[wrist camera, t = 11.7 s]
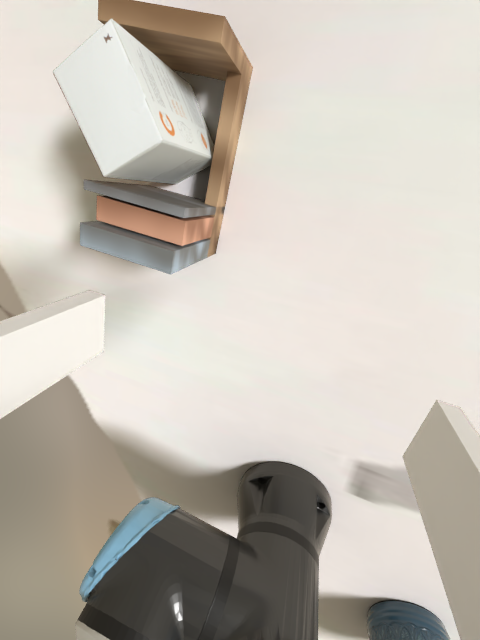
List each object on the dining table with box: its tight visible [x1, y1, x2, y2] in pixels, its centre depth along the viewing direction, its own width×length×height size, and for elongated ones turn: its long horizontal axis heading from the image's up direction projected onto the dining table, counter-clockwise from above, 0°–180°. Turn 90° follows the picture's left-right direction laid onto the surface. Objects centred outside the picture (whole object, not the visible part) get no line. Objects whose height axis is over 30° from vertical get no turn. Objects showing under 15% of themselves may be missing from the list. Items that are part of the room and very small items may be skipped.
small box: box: [53, 19, 214, 184], centre depth 28 cm, size 8×6×13 cm
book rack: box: [80, 0, 253, 274], centre depth 29 cm, size 19×10×12 cm, turn 166°
